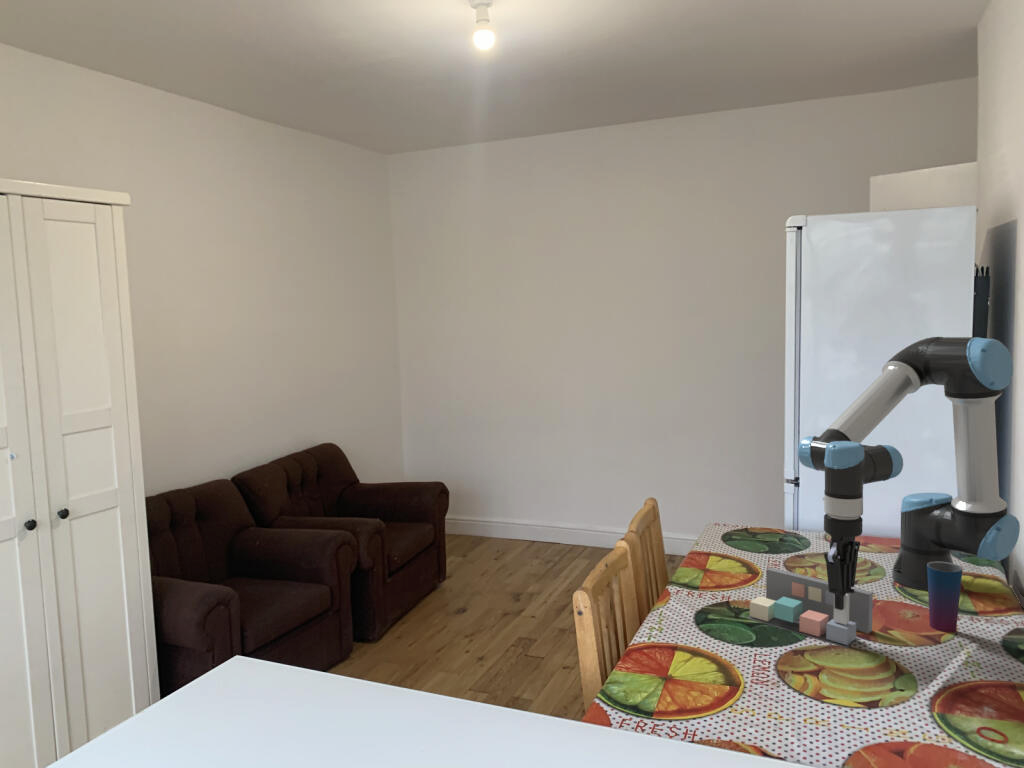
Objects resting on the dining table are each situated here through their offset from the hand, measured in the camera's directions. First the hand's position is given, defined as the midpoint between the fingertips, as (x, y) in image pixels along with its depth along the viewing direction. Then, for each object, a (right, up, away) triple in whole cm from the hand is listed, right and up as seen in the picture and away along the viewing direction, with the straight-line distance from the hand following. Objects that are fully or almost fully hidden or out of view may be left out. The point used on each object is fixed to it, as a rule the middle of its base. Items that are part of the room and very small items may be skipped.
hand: (841, 622), depth 164 cm
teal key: (-8, -2, +9) cm, 12 cm away
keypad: (-5, -5, +8) cm, 10 cm away
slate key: (0, -4, 0) cm, 4 cm away
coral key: (-4, -3, +5) cm, 7 cm away
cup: (+25, -4, +6) cm, 26 cm away
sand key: (-12, -3, +13) cm, 18 cm away
